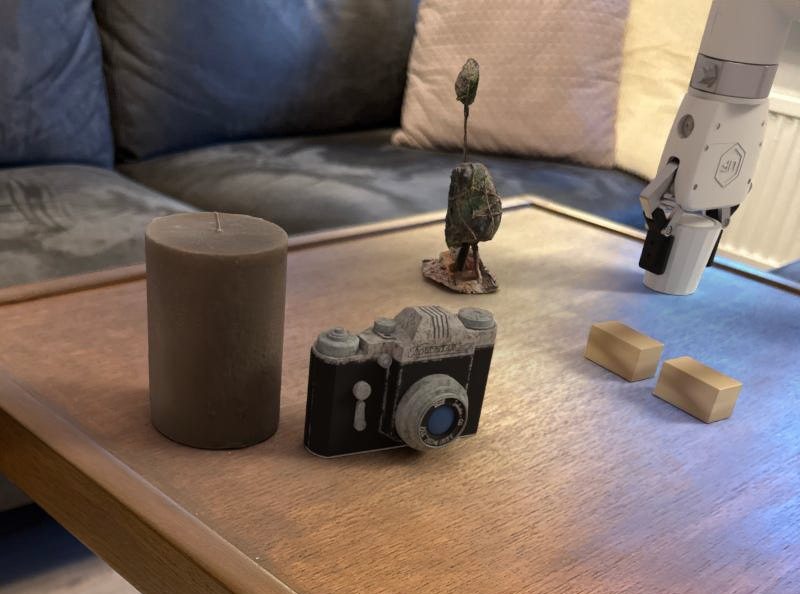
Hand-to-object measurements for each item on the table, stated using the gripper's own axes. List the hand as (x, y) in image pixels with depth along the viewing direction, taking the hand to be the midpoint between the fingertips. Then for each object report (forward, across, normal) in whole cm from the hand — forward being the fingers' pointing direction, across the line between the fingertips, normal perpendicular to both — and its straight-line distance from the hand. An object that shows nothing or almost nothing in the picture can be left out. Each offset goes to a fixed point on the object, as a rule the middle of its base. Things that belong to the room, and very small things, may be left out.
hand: (675, 265), depth 106 cm
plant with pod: (+2, -23, +9) cm, 24 cm away
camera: (+2, -49, -18) cm, 52 cm away
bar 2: (+2, -22, -22) cm, 31 cm away
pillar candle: (+2, -60, -9) cm, 61 cm away
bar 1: (+2, -22, -14) cm, 26 cm away
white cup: (+2, 0, 0) cm, 2 cm away
